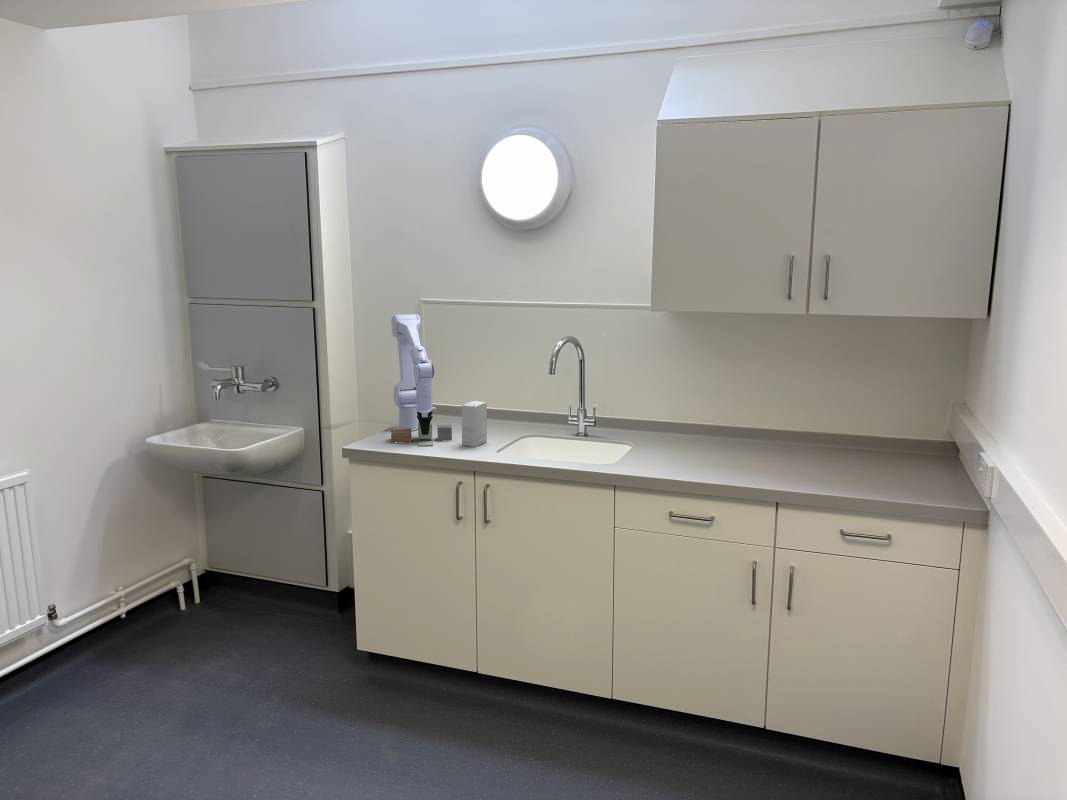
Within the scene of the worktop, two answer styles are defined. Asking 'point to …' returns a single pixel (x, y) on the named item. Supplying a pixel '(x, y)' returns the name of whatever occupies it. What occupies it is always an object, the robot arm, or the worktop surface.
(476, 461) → the worktop surface
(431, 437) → the sage cube
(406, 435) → the walnut base
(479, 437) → the skincare box
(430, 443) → the card
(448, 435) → the charcoal cube
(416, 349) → the robot arm
